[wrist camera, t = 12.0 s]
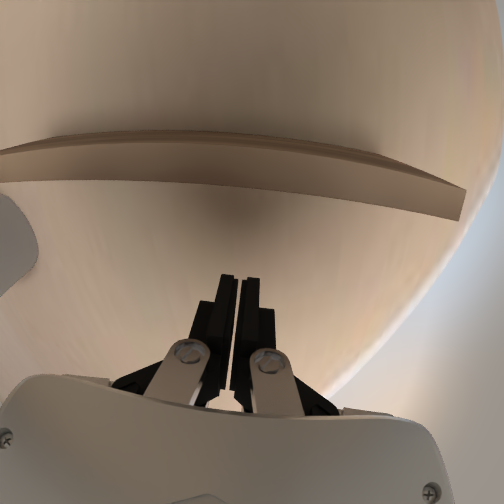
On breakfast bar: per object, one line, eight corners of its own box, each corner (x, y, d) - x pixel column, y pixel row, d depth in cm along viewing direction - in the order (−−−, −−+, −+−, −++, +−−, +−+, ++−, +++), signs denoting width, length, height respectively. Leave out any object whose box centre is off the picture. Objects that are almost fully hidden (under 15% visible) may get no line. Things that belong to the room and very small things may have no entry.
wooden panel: (52, 137, 20) (-40, 163, 10) (380, 154, 20) (466, 190, 10) (52, 156, 20) (-38, 190, 10) (376, 177, 21) (456, 227, 11)
